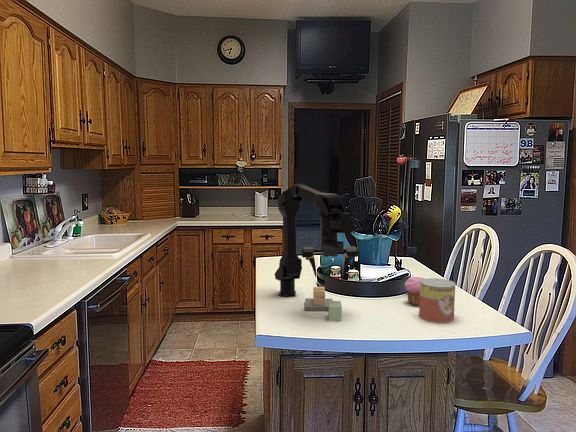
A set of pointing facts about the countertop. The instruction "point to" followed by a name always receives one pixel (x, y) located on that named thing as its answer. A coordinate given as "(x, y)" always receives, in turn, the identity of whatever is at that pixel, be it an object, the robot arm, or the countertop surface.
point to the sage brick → (335, 311)
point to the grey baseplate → (311, 307)
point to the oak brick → (318, 296)
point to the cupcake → (413, 289)
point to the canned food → (437, 300)
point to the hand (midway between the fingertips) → (329, 276)
